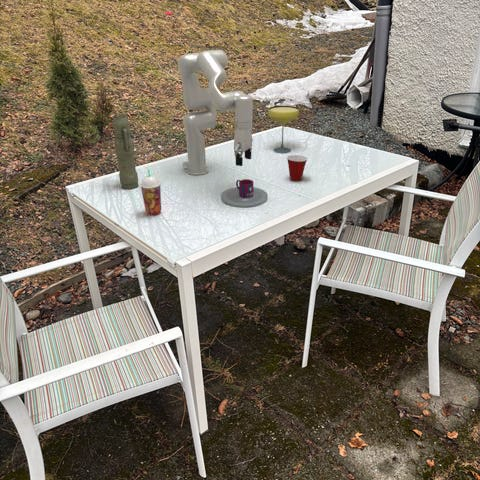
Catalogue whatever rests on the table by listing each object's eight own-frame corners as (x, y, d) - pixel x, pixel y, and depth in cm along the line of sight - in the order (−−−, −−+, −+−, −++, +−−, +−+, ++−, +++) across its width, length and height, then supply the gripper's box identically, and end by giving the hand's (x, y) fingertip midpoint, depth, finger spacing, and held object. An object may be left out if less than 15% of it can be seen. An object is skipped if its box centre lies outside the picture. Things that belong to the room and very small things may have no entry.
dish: (212, 202, 203) (212, 200, 203) (233, 185, 221) (233, 183, 220) (256, 210, 195) (256, 208, 194) (274, 192, 212) (274, 190, 212)
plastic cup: (310, 178, 228) (312, 156, 222) (298, 184, 221) (299, 162, 215) (293, 173, 234) (295, 152, 228) (281, 179, 227) (282, 157, 221)
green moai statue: (132, 180, 228) (123, 112, 211) (143, 187, 220) (134, 117, 203) (116, 184, 224) (105, 115, 206) (126, 191, 215) (116, 120, 198)
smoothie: (145, 209, 198) (139, 167, 188) (163, 208, 198) (159, 166, 189) (143, 217, 191) (137, 174, 181) (162, 216, 191) (157, 173, 181)
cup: (244, 199, 203) (244, 185, 199) (232, 192, 210) (232, 179, 206) (256, 195, 206) (256, 182, 203) (243, 189, 213) (243, 176, 210)
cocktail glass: (265, 146, 276) (266, 106, 264) (293, 145, 278) (295, 105, 265) (270, 155, 260) (271, 113, 248) (299, 154, 262) (302, 112, 250)
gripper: (244, 118, 199) (243, 155, 208) (227, 128, 185) (227, 167, 194) (259, 120, 196) (258, 157, 205) (243, 130, 183) (243, 169, 191)
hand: (243, 162), depth 199 cm, fingers open, 9 cm apart
